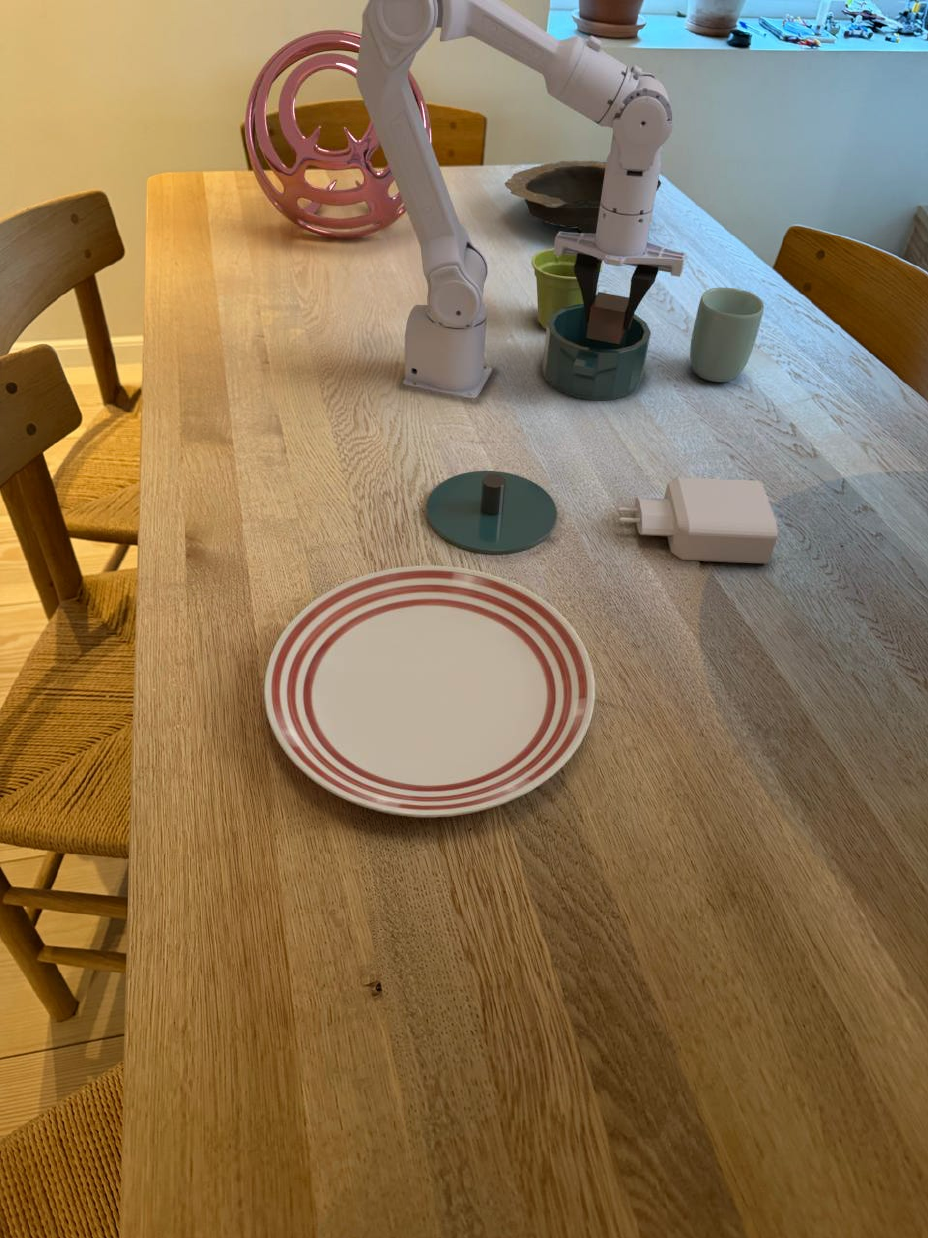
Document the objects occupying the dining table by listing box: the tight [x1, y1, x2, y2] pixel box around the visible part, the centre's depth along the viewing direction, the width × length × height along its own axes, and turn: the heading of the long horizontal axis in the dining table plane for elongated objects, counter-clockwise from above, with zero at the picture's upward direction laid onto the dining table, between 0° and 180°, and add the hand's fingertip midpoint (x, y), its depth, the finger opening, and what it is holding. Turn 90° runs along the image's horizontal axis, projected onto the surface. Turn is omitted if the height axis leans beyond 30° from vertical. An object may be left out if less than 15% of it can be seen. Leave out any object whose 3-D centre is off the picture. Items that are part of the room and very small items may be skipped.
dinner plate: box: [263, 564, 596, 818], centre depth 80 cm, size 27×27×3 cm
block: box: [586, 291, 629, 344], centre depth 112 cm, size 4×4×4 cm
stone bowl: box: [504, 160, 662, 234], centre depth 154 cm, size 25×25×9 cm
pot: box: [541, 304, 652, 401], centre depth 120 cm, size 13×18×6 cm
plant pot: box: [531, 247, 603, 330], centre depth 129 cm, size 9×9×9 cm
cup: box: [689, 287, 765, 383], centre depth 120 cm, size 8×8×10 cm
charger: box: [616, 476, 779, 565], centre depth 98 cm, size 5×9×15 cm
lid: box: [425, 470, 558, 555], centre depth 98 cm, size 14×14×5 cm
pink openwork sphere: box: [244, 29, 433, 240], centre depth 144 cm, size 28×28×27 cm
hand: (607, 322), depth 113 cm, fingers closed on block, 4 cm apart
